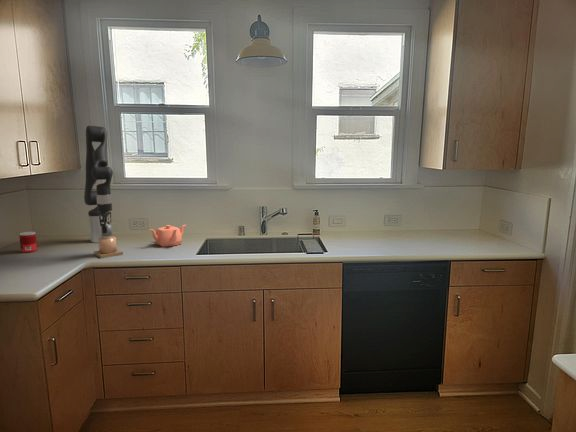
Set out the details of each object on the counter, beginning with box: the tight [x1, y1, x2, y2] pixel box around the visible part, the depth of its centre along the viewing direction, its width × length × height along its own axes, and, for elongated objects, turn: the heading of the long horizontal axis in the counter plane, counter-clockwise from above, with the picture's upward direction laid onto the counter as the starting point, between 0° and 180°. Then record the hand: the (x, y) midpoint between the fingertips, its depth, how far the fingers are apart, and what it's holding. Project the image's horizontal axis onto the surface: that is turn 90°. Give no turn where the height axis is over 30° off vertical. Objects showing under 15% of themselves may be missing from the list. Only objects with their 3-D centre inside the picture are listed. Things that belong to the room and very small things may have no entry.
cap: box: [101, 223, 113, 236], centre depth 215 cm, size 7×6×6 cm
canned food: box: [18, 231, 38, 254], centre depth 219 cm, size 8×8×11 cm
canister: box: [93, 235, 124, 259], centre depth 216 cm, size 12×12×12 cm
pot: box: [148, 224, 187, 248], centre depth 240 cm, size 18×17×12 cm
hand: (106, 231), depth 214 cm, fingers closed on cap, 5 cm apart
